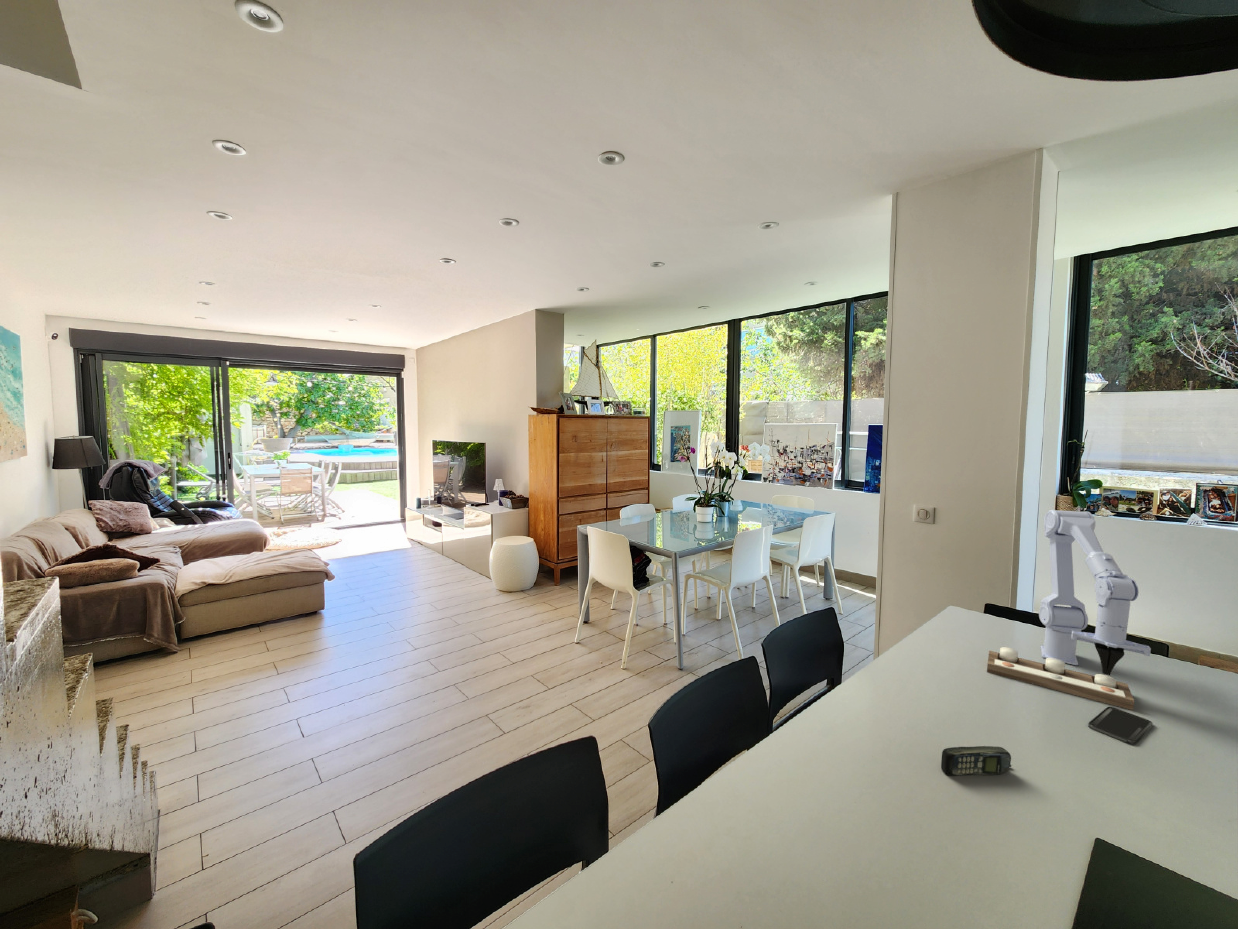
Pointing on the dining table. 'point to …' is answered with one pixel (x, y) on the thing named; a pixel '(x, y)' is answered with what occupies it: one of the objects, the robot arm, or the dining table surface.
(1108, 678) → the end button
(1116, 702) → the button board
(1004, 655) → the end button
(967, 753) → the mobile phone
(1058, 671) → the middle button
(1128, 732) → the phone
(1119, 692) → the pattern card
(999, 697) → the dining table surface
